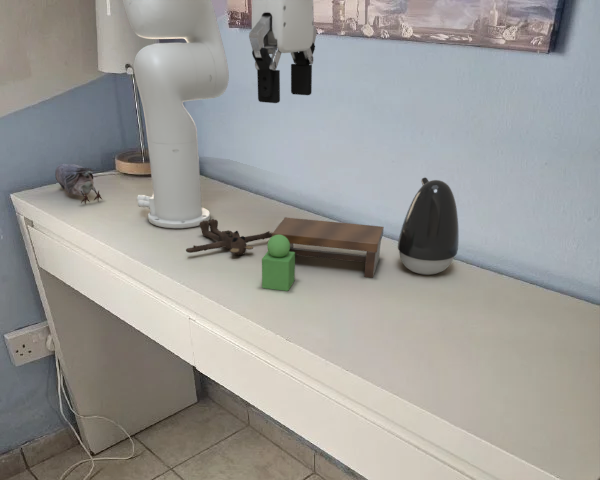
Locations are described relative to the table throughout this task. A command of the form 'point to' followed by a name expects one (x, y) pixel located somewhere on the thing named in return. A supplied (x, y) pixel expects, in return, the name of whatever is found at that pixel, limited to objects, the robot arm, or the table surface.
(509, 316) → the table surface
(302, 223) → the bench
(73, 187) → the bird
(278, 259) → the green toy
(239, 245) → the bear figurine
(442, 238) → the pump dispenser
